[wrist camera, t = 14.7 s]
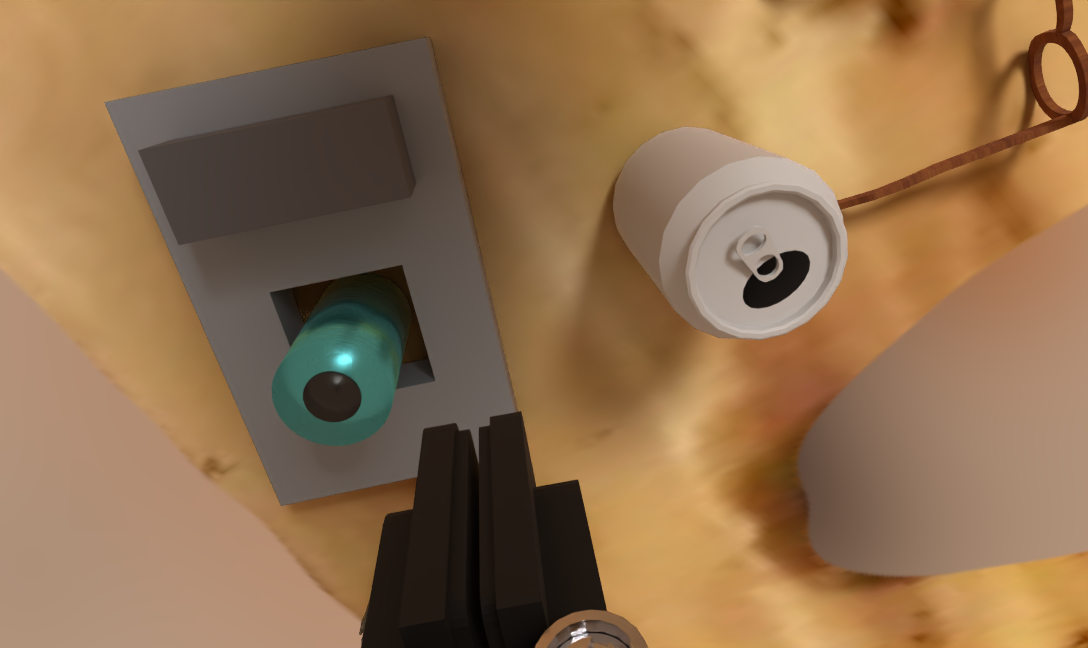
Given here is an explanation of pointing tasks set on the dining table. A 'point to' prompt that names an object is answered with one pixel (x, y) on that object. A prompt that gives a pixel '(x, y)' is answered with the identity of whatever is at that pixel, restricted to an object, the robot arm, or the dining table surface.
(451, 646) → the robot arm
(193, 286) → the plate
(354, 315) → the teal translucent cylinder
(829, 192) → the can
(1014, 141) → the glasses
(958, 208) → the dining table surface
